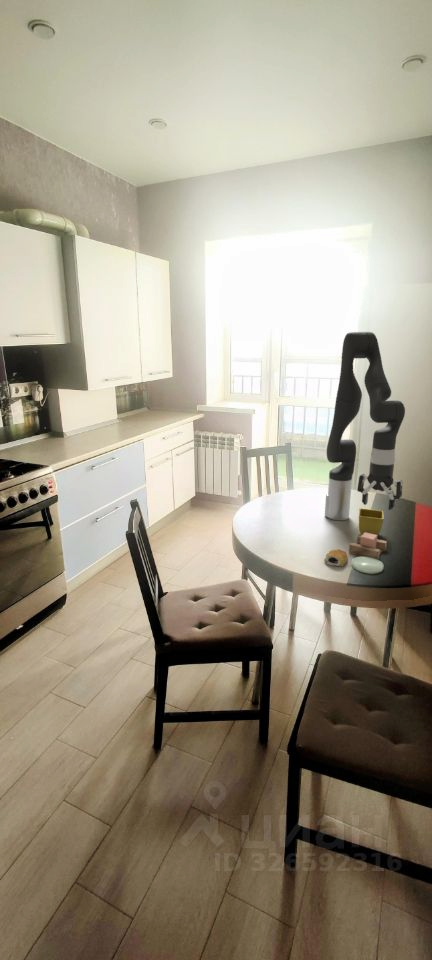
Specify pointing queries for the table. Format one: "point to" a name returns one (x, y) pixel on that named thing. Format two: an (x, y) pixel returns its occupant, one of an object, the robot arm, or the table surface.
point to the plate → (367, 565)
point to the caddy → (367, 548)
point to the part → (368, 540)
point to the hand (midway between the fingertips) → (377, 506)
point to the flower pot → (370, 521)
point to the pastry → (336, 558)
